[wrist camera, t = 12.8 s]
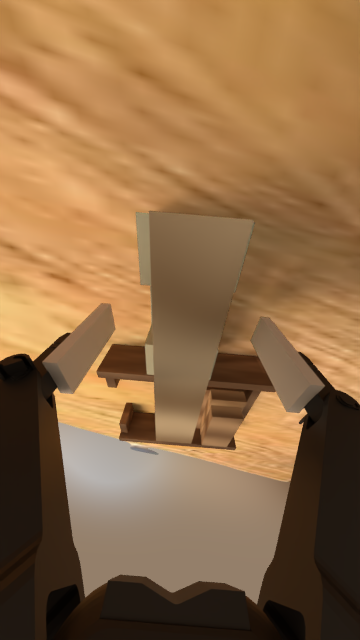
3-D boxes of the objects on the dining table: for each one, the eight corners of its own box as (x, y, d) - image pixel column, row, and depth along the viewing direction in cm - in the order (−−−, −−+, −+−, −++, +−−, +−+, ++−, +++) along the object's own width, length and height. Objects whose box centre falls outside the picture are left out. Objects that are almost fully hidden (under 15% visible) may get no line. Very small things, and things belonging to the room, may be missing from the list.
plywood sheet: (175, 215, 14) (149, 210, 4) (209, 218, 14) (254, 220, 4) (169, 349, 22) (156, 440, 13) (190, 351, 22) (191, 443, 13)
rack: (112, 344, 24) (90, 381, 18) (262, 357, 24) (284, 397, 18) (127, 414, 35) (117, 449, 30) (229, 422, 35) (236, 459, 30)
